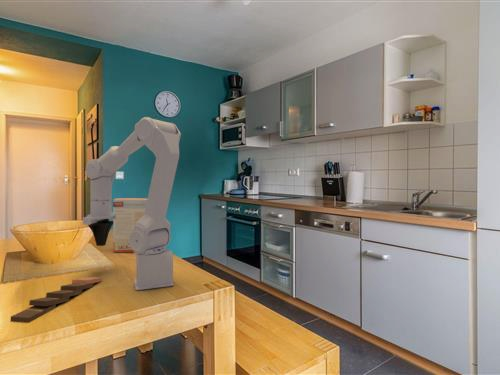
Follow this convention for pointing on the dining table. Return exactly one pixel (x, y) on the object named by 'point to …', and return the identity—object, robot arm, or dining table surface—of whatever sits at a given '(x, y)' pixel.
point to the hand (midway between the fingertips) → (101, 245)
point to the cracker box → (126, 221)
